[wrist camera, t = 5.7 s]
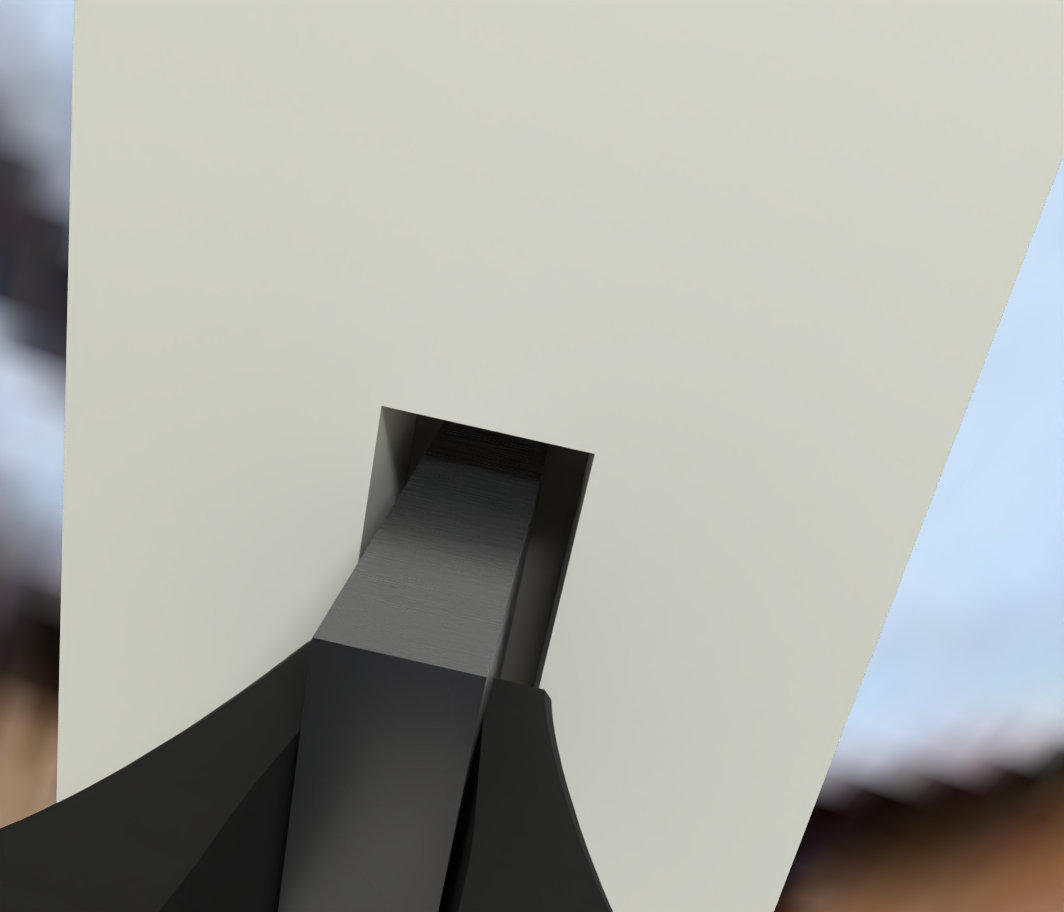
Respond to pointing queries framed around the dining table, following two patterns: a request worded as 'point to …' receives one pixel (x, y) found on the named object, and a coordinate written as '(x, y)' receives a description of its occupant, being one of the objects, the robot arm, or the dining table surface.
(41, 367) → the dining table surface
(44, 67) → the dining table surface
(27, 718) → the dining table surface
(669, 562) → the post foot
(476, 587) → the metal block
